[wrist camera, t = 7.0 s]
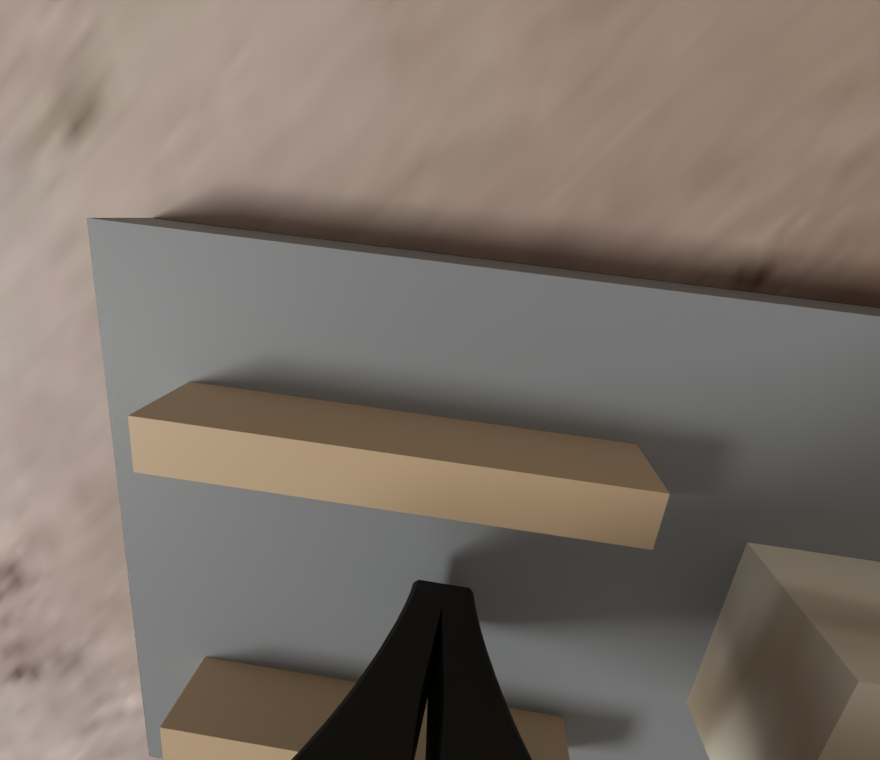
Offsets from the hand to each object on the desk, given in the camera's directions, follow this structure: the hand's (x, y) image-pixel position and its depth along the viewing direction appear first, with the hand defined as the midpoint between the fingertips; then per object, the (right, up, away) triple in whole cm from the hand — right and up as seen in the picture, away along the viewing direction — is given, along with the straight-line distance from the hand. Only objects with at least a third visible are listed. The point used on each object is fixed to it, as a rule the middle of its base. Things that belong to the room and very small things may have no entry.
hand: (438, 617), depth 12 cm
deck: (+8, 0, +2) cm, 9 cm away
